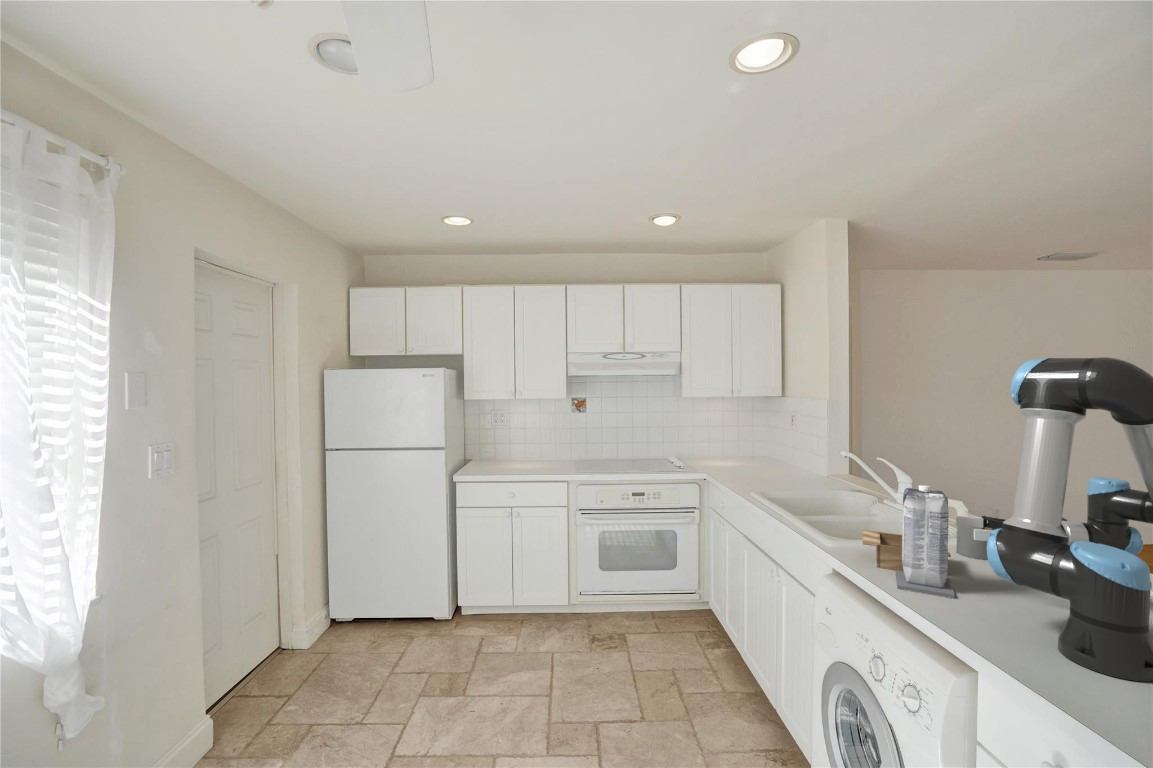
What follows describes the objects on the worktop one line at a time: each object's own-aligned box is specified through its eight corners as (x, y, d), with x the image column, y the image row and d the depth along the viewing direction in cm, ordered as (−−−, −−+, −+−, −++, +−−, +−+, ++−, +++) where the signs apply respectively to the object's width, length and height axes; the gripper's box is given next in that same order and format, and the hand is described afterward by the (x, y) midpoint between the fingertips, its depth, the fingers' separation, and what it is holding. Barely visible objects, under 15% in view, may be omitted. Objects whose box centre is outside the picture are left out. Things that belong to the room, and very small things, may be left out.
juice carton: (948, 591, 142) (950, 492, 142) (902, 583, 147) (904, 487, 147) (944, 579, 150) (945, 485, 150) (900, 572, 155) (902, 482, 155)
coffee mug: (959, 556, 172) (959, 526, 172) (954, 547, 181) (954, 519, 181) (1011, 563, 166) (1011, 532, 166) (1003, 554, 175) (1003, 524, 175)
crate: (950, 579, 153) (950, 555, 153) (862, 565, 164) (862, 542, 164) (943, 562, 167) (944, 540, 167) (862, 550, 178) (863, 529, 178)
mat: (954, 598, 140) (954, 594, 140) (897, 588, 146) (897, 585, 146) (948, 581, 151) (948, 578, 151) (895, 573, 158) (895, 569, 158)
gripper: (1087, 565, 127) (982, 555, 133) (1035, 535, 150) (948, 528, 157) (1088, 535, 126) (983, 526, 133) (1036, 509, 150) (949, 503, 157)
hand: (964, 527), depth 145 cm, fingers open, 13 cm apart
